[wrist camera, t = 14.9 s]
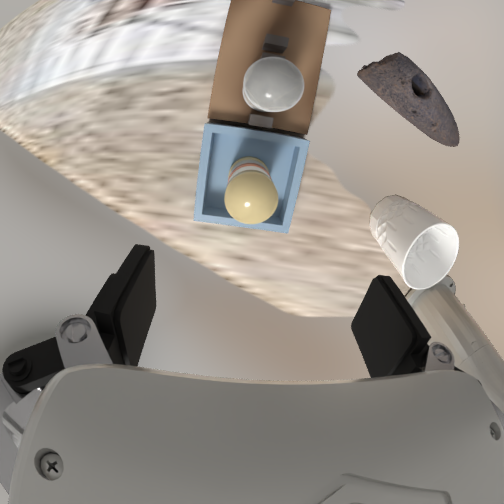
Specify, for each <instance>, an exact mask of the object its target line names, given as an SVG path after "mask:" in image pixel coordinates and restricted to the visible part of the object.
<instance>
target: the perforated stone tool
mask: <svg viewBox="0 0 504 504" xmlns="http://www.w3.org/2000/svg"><path fill="white" fill-rule="evenodd" d="M362 68H363V69H361V70H359V71H358V74H357V76H358V77H359V78H360V79H361V80H362V81H363V82H364V83H365V84H366V85H368V87H369V88H370V89H371V90H373V91H374V92H375V93H376V94H377V95H378V96H379V97H380V98H381V99H382V100H384V101H385V102H386V103H387V104H388V105H390V106H391V107H392V108H393V109H394V110H395V111H397V112H398V113H399V114H400V115H402V116H403V117H404V118H405V119H406V120H408V121H409V122H410V123H412V124H413V125H414V126H416V127H417V128H418V129H419V130H421V131H422V132H423V133H425V134H426V135H427V136H429V137H430V138H432V139H433V140H435V141H437V142H439V143H441V144H443V145H446V146H453V147H455V146H458V144H459V131H458V127H457V124H456V122H455V120H454V117H453V115H452V113H451V111H450V109H449V107H448V105H447V104H446V102H445V101H444V99H443V97H442V96H441V94H440V93H439V91H438V90H437V88H436V87H435V86H434V84H433V83H432V82H431V80H430V79H429V78H428V76H427V75H426V74H425V73H424V72H423V71H422V70H421V69H420V68H419V67H418V66H417V65H416V64H414V63H413V62H412V61H411V60H410V59H409V58H408V57H406V56H404V55H403V54H401V53H400V52H398V53H395V54H393V55H389V56H386V57H384V58H383V59H382V60H381V61H379V62H372V63H371V64H369V65H368V66H365V65H364V66H363V67H362Z"/></svg>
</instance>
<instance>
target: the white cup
mask: <svg viewBox="0 0 504 504" xmlns="http://www.w3.org/2000/svg"><path fill="white" fill-rule="evenodd" d="M369 226H370V229H371V233H372V235H373V237H374V238H375V239H376V240H377V242H378V243H379V245H380V246H381V248H382V250H383V251H384V252H385V254H386V255H387V257H388V258H389V260H390V261H391V263H392V264H393V265H394V267H395V268H396V270H397V271H398V272H399V274H400V275H401V277H402V278H403V280H404V281H405V283H406V284H407V285H408V286H409V287H411V288H413V289H418V290H420V289H426V288H429V287H431V286H433V285H435V284H437V283H438V282H439V281H441V280H442V279H443V278H444V277H445V276H446V275H447V273H448V272H449V270H450V269H451V268H452V266H453V264H454V262H455V260H456V257H457V255H458V250H459V237H458V234H457V231H456V230H455V228H454V227H453V226H451V225H450V224H448V223H447V222H445V221H444V220H442V219H441V218H439V217H438V216H436V215H435V214H433V213H431V212H430V211H428V210H426V209H424V208H423V207H421V206H419V205H417V204H416V203H414V202H411V201H409V200H408V199H406V198H404V197H401V196H398V195H392V196H387V197H385V198H384V199H382V200H381V201H380V202H378V203H377V204H376V206H375V208H374V209H373V211H372V213H371V216H370V223H369Z"/></svg>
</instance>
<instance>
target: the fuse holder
mask: <svg viewBox="0 0 504 504" xmlns="http://www.w3.org/2000/svg"><path fill="white" fill-rule="evenodd" d="M330 13H331V10H329V9H326V8H323V7H319V6H316V5H312V4H309V3H305V2H301V1H297V0H231V3H230V7H229V11H228V15H227V19H226V24H225V28H224V32H223V37H222V42H221V46H220V51H219V56H218V61H217V66H216V71H215V77H214V82H213V88H212V94H211V100H210V106H209V112H208V118H210V119H219V120H227V121H235V122H242V123H248V124H249V125H254V126H260V127H266V128H271V129H272V128H277V129H282V130H287V131H292V132H297V133H301V134H306V135H307V133H308V128H309V124H310V119H311V114H312V109H313V104H314V99H315V94H316V89H317V84H318V79H319V74H320V69H321V64H322V58H323V53H324V47H325V42H326V36H327V31H328V25H329V19H330ZM266 57H280V58H284V59H286V60H288V61H290V62H291V63H293V64H294V65H295V66H296V67H297V68H298V69H299V70H300V72H301V74H302V76H303V79H304V91H303V95H302V97H301V99H300V100H299V101H298V103H297V104H295V105H294V106H293V107H292V108H290V109H288V110H285V111H281V112H260V111H256V110H254V109H252V108H251V107H250V106H248V104H247V103H246V102H245V100H244V98H243V81H244V76H245V73H246V71H247V70H248V68H249V67H250V66H251V65H252V64H253V63H254V62H256V61H258V60H259V59H262V58H266Z"/></svg>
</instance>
